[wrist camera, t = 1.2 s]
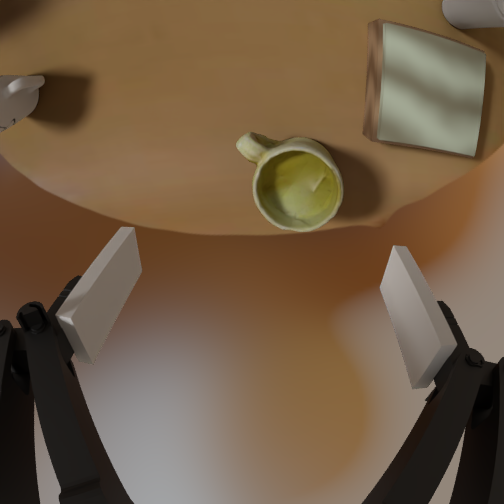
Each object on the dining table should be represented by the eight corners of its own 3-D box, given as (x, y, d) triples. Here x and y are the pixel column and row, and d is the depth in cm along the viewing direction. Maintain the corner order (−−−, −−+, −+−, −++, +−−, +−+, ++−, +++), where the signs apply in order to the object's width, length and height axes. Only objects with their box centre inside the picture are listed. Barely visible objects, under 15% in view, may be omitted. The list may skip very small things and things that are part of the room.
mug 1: (52, 49, 28) (2, 54, 20) (65, 100, 33) (17, 115, 24) (4, 84, 31) (-42, 98, 22) (17, 130, 35) (-27, 151, 27)
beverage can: (445, 29, 24) (502, 24, 14) (434, -5, 22) (487, -21, 12) (473, 29, 23) (532, 29, 13) (463, -4, 21) (519, -14, 11)
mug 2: (367, 181, 35) (355, 218, 28) (302, 214, 42) (274, 254, 34) (310, 95, 32) (279, 105, 25) (248, 138, 39) (207, 162, 32)
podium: (368, 23, 26) (381, 17, 22) (467, 50, 25) (489, 51, 21) (362, 134, 34) (374, 143, 30) (457, 149, 33) (476, 161, 29)
